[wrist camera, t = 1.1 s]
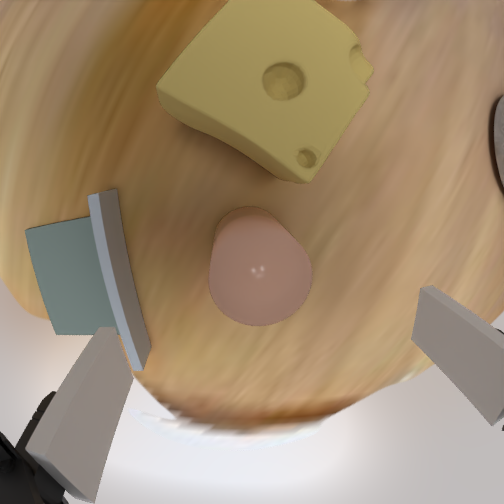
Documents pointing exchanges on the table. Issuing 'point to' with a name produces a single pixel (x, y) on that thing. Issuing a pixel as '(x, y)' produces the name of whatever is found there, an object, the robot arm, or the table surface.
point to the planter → (499, 137)
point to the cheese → (271, 83)
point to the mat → (70, 277)
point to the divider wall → (119, 275)
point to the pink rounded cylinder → (257, 268)
